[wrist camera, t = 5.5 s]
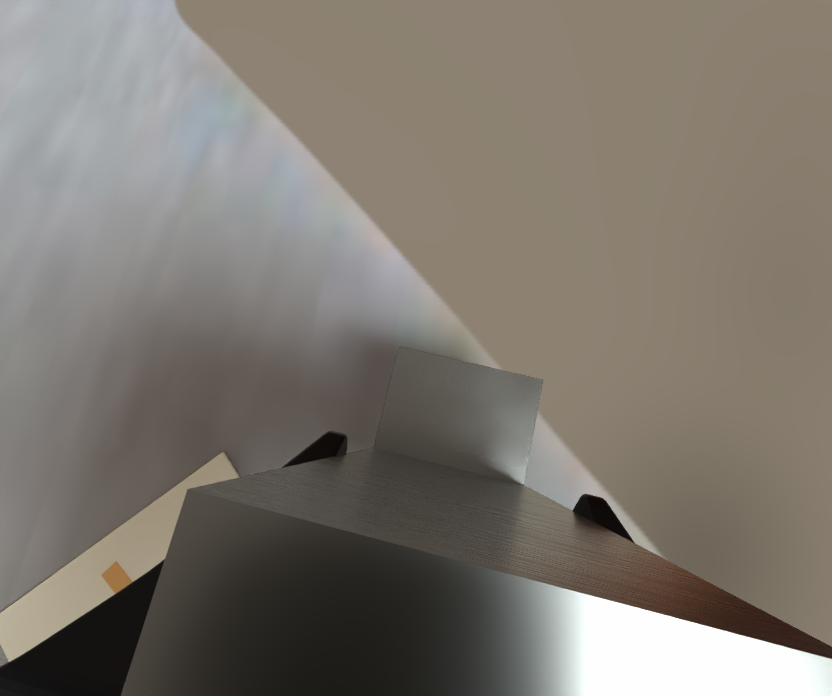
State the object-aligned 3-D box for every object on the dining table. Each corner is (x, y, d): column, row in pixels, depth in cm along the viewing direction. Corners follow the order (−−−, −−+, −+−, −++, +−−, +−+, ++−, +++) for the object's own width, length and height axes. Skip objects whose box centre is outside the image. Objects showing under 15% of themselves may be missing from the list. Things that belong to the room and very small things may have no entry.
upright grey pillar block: (360, 517, 16) (63, 875, 3) (401, 354, 17) (314, 94, 4) (500, 553, 15) (859, 1145, 3) (532, 384, 16) (898, 206, 4)
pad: (374, 689, 19) (373, 692, 18) (126, 891, 17) (121, 897, 17) (224, 452, 21) (221, 452, 20) (-7, 619, 19) (-13, 621, 19)
